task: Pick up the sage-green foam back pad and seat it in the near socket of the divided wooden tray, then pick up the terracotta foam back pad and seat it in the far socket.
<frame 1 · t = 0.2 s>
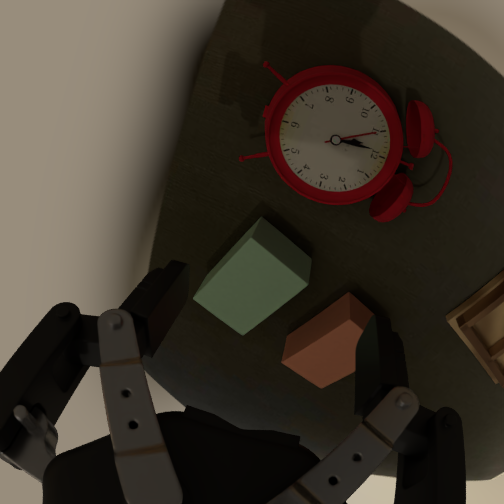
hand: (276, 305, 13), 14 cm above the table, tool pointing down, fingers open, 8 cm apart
pad sage: (256, 267, 30), on the table
alarm clock: (354, 138, 22), on the table
pad terracotta: (335, 330, 31), on the table
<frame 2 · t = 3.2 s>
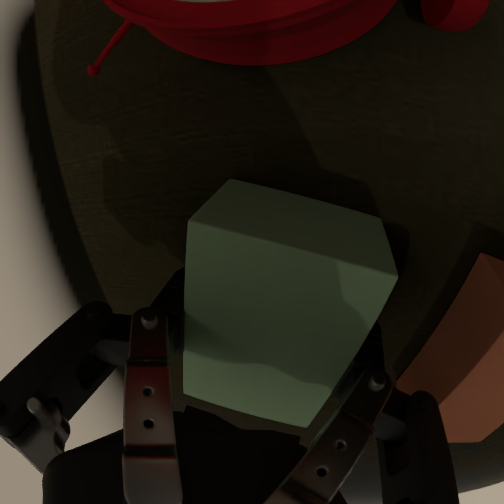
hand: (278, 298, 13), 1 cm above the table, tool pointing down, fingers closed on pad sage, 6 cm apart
pad sage: (281, 289, 14), on the table, touching gripper
pad terracotta: (477, 337, 13), on the table
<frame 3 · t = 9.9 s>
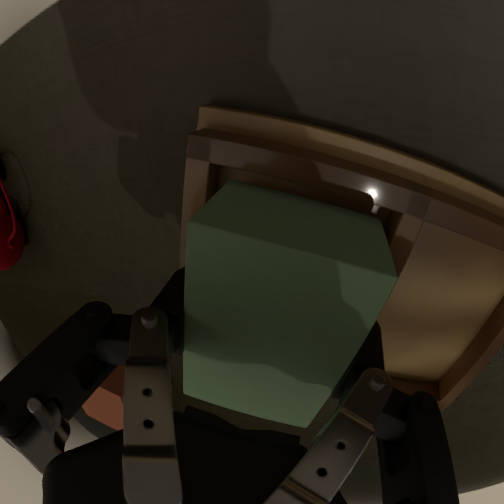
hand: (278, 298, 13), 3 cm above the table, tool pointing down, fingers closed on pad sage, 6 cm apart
pad sage: (281, 290, 14), point 2 cm above the table, touching gripper
divided wooden tray: (363, 286, 15), on the table
pad terracotta: (120, 376, 26), on the table
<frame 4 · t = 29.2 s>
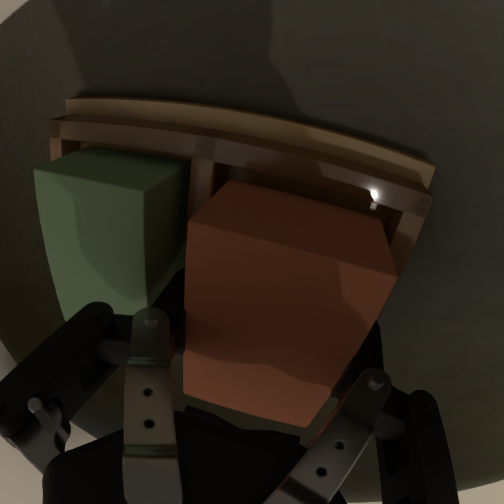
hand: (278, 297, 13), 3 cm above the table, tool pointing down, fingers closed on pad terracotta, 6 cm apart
pad sage: (135, 233, 16), point 1 cm above the table, touching divided wooden tray
divided wooden tray: (211, 243, 16), on the table
pad terracotta: (281, 289, 14), point 2 cm above the table, touching gripper
when the fingers open (3 cm above the table, at t = 34.8 s): pad terracotta drops 1 cm, resting on divided wooden tray.
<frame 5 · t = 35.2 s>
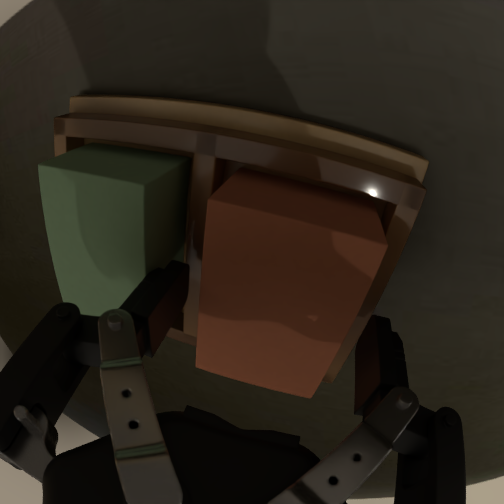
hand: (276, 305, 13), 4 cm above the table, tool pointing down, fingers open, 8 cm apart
pad sage: (136, 228, 16), point 1 cm above the table, touching divided wooden tray, gripper
divided wooden tray: (212, 237, 17), on the table
pad terracotta: (285, 268, 15), point 1 cm above the table, touching divided wooden tray
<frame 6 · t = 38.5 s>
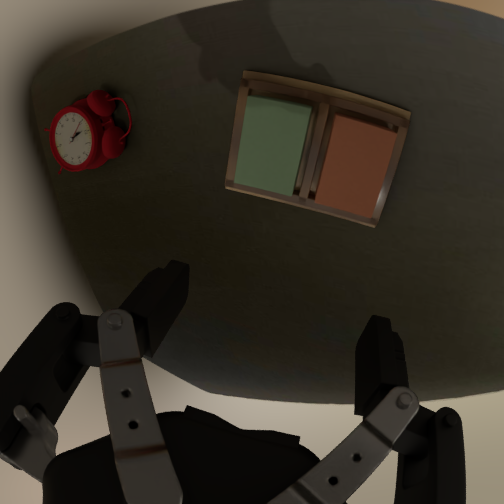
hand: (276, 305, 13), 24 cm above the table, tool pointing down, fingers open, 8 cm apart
pad sage: (277, 139, 32), point 1 cm above the table, touching divided wooden tray
divided wooden tray: (315, 147, 32), on the table
alarm clock: (98, 128, 37), on the table
pad terracotta: (352, 159, 31), point 1 cm above the table, touching divided wooden tray
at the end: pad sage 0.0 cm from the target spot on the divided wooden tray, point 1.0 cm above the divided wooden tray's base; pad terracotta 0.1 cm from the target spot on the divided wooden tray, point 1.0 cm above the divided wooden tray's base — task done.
